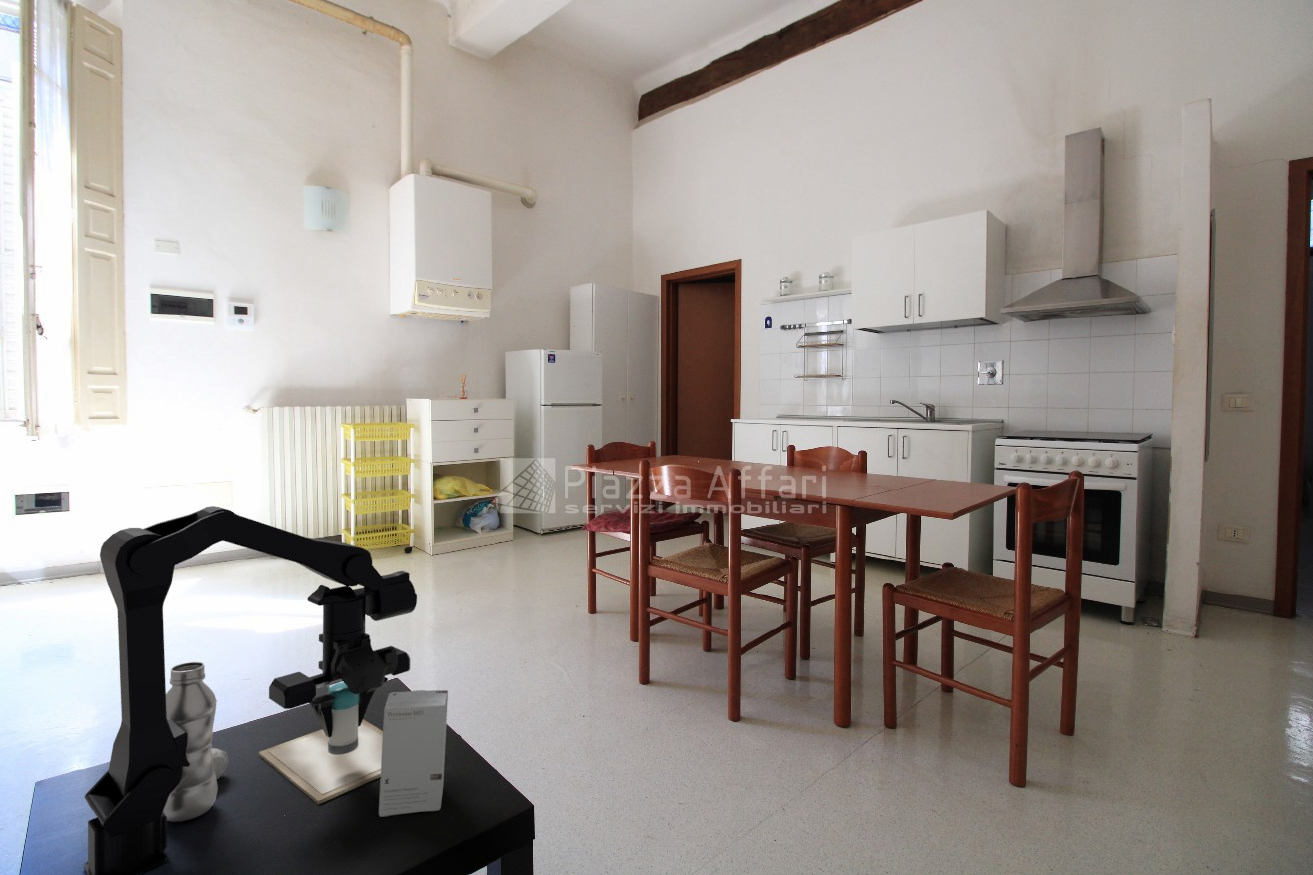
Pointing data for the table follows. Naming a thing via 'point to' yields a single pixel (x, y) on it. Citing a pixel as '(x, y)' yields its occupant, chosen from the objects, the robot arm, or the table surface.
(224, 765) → the garlic
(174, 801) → the plastic bottle
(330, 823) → the table surface
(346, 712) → the cylinder
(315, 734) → the picture frame
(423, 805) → the skincare box
